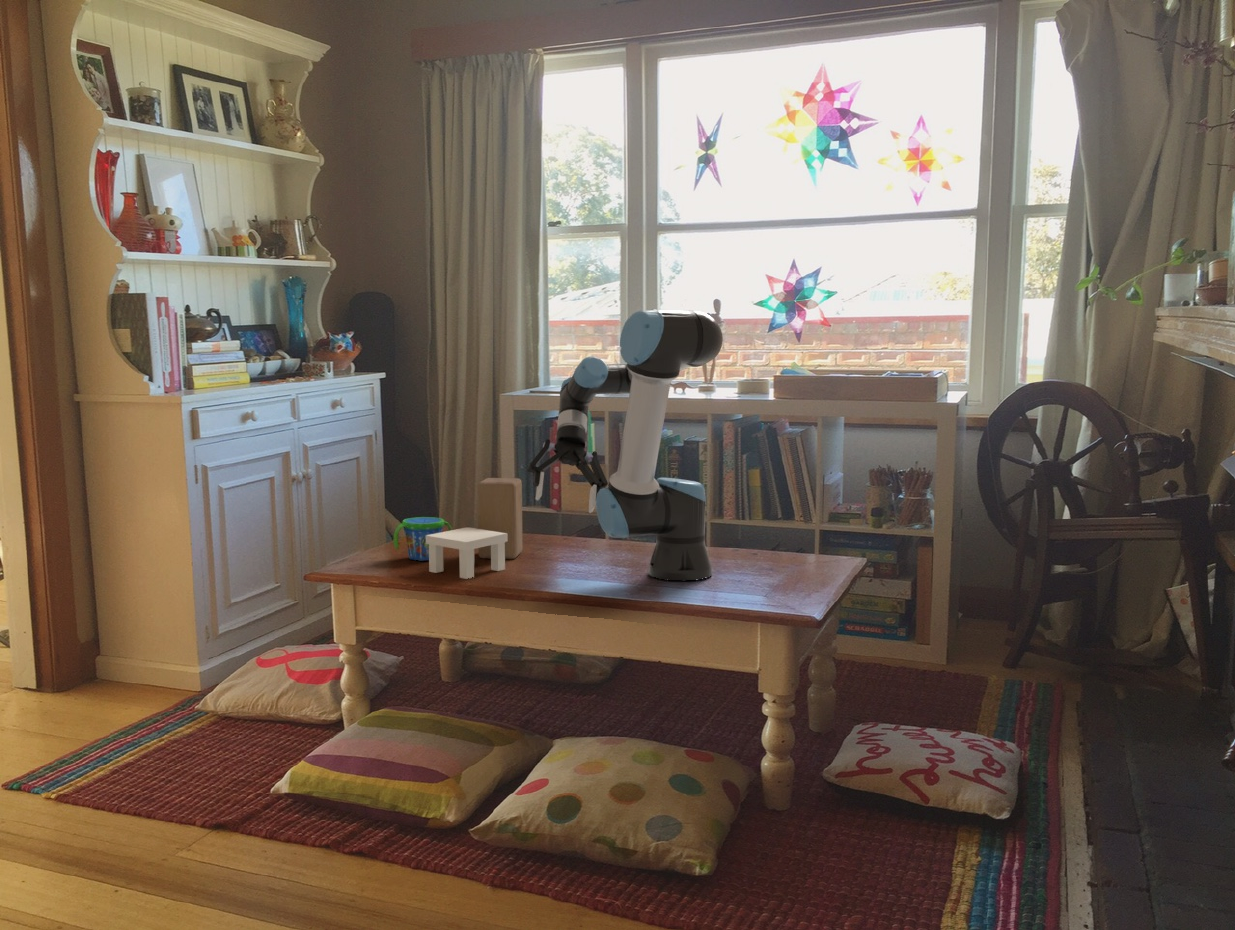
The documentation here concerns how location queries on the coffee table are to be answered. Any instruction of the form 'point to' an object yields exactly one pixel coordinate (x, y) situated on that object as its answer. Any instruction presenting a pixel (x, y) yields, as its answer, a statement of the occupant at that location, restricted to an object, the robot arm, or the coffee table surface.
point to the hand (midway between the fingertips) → (565, 503)
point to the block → (501, 513)
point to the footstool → (466, 548)
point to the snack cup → (419, 535)
